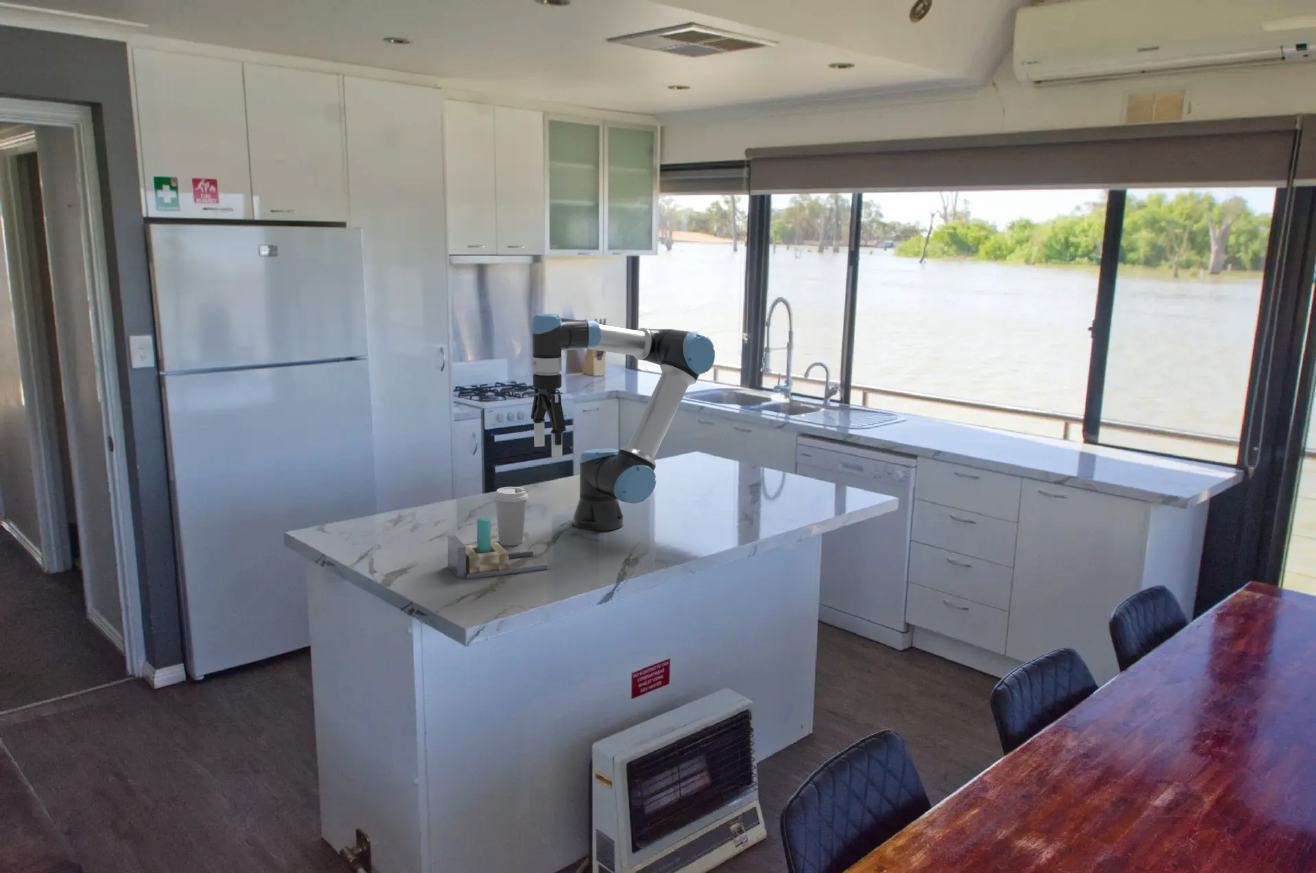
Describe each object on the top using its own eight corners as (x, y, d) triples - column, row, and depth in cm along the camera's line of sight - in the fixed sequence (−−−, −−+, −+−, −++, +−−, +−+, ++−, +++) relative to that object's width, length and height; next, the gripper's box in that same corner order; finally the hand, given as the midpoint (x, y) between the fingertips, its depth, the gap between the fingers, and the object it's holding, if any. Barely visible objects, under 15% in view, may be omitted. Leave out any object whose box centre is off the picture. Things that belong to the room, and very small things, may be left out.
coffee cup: (521, 548, 256) (521, 496, 253) (488, 545, 257) (488, 493, 254) (532, 538, 265) (533, 487, 262) (500, 535, 267) (501, 485, 264)
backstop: (532, 554, 251) (532, 526, 249) (547, 569, 240) (548, 539, 238) (446, 564, 240) (446, 535, 239) (459, 580, 230) (458, 549, 228)
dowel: (475, 563, 239) (475, 518, 237) (488, 561, 241) (488, 517, 238) (479, 567, 236) (479, 522, 234) (492, 565, 238) (492, 520, 235)
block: (497, 559, 245) (497, 542, 244) (508, 571, 236) (508, 553, 235) (459, 564, 241) (459, 546, 240) (469, 576, 232) (469, 557, 231)
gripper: (518, 367, 254) (519, 443, 259) (550, 380, 232) (551, 462, 237) (544, 366, 258) (545, 441, 262) (578, 378, 236) (578, 459, 240)
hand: (548, 451), depth 249 cm, fingers open, 13 cm apart
